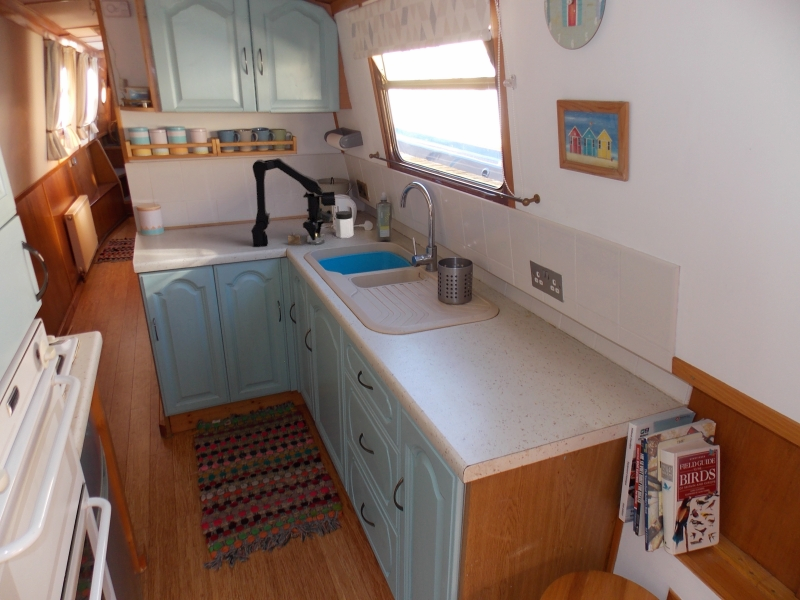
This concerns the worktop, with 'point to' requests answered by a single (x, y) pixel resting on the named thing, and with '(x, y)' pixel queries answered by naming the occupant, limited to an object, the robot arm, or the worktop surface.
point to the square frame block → (316, 238)
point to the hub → (316, 242)
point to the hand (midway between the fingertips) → (315, 238)
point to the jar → (344, 224)
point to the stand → (294, 239)
